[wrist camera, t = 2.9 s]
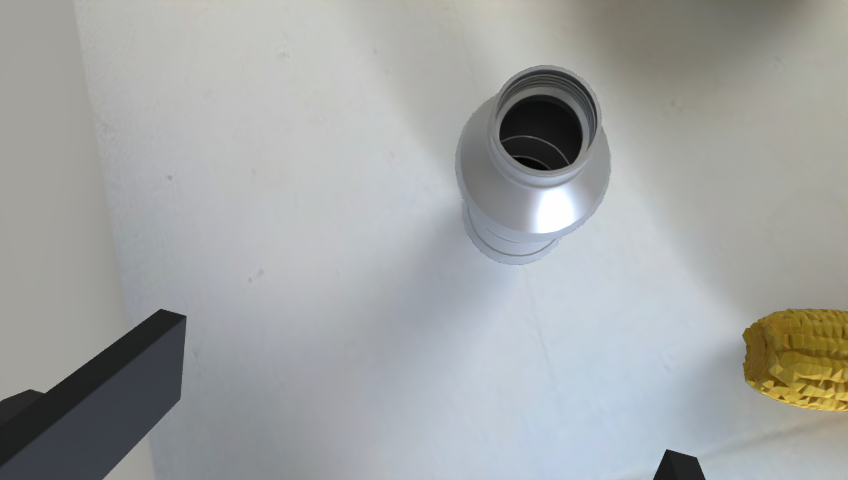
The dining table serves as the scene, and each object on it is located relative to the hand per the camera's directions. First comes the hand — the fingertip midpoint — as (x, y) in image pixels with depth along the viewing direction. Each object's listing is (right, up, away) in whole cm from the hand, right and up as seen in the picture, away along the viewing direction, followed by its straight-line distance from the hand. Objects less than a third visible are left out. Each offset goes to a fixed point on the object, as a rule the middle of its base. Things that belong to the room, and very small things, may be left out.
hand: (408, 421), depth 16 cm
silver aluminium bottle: (+6, +6, +23) cm, 25 cm away
